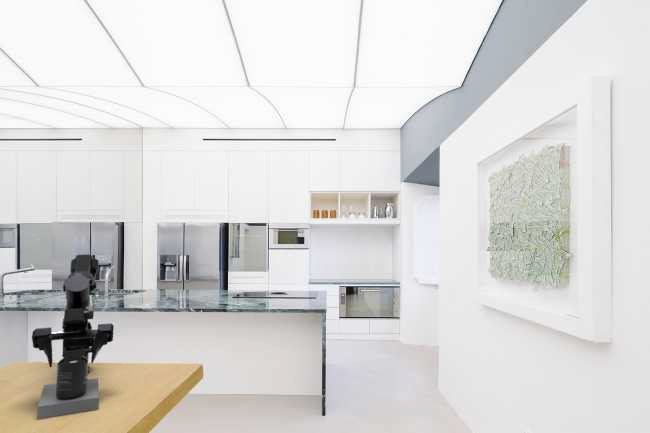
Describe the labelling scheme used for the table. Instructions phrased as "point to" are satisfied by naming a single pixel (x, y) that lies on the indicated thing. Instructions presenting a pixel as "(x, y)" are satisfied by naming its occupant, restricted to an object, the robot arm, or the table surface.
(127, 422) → the table surface
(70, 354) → the supplement bottle
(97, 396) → the riser block
